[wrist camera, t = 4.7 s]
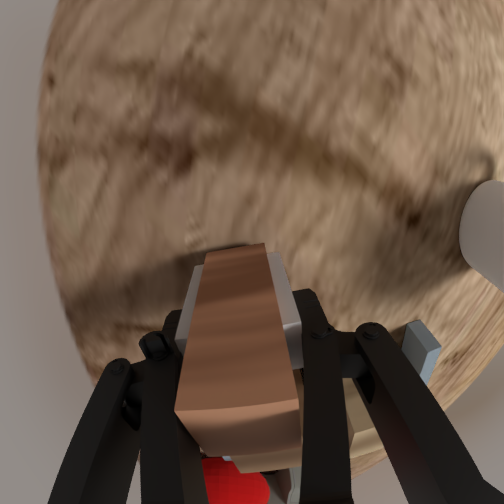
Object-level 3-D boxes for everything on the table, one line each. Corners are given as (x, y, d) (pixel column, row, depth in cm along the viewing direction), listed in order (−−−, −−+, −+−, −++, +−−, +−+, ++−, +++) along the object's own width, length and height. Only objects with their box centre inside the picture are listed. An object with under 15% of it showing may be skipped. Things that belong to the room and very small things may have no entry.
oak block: (333, 372, 23) (354, 433, 17) (390, 356, 23) (420, 409, 17) (331, 406, 26) (346, 459, 19) (381, 392, 25) (403, 440, 19)
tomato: (189, 440, 27) (183, 513, 18) (279, 453, 30) (287, 519, 20) (173, 465, 31) (167, 522, 22) (247, 477, 34) (250, 530, 24)
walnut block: (187, 256, 17) (136, 410, 7) (284, 239, 17) (343, 388, 7) (239, 410, 24) (242, 513, 14) (301, 401, 23) (321, 503, 13)
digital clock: (244, 474, 33) (247, 529, 23) (280, 457, 30) (288, 520, 21) (316, 481, 37) (325, 526, 28) (352, 463, 35) (365, 511, 25)
